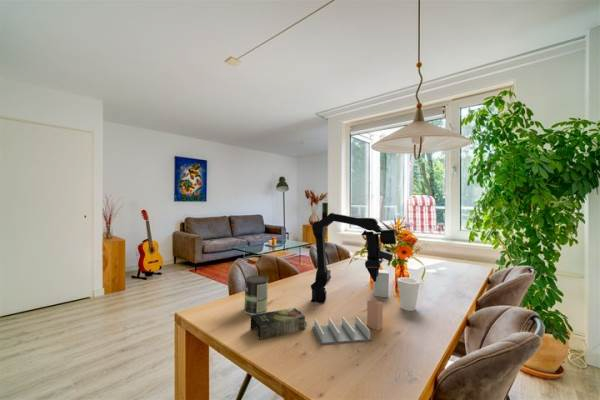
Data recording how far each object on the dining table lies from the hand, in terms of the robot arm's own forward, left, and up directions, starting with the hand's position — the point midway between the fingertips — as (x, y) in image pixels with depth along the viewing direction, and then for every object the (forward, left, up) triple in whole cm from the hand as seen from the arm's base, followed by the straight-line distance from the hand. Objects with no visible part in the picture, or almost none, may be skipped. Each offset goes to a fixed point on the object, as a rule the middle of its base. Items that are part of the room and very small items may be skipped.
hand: (375, 278), depth 119 cm
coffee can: (-51, -18, -15) cm, 56 cm away
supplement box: (+3, +23, -15) cm, 27 cm away
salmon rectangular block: (0, -17, -14) cm, 23 cm away
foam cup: (+15, +8, -15) cm, 22 cm away
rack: (-12, -27, -14) cm, 33 cm away
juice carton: (-35, -31, -15) cm, 50 cm away
